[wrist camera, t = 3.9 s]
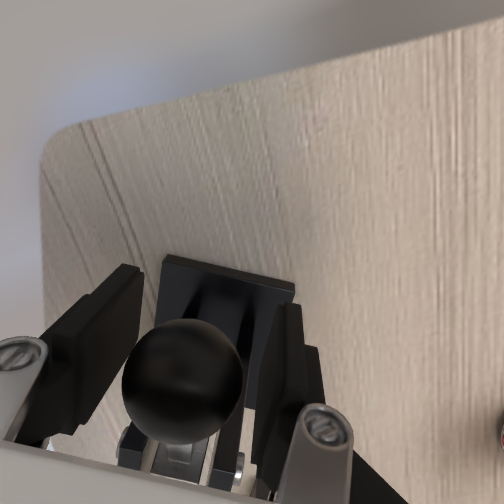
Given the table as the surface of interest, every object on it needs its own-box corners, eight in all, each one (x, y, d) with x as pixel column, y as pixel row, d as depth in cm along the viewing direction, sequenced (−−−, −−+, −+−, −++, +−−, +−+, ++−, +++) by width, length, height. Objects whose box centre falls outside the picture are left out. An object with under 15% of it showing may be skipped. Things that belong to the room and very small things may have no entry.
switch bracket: (167, 253, 24) (71, 376, 13) (295, 283, 24) (304, 429, 13) (151, 374, 28) (70, 541, 17) (259, 399, 28) (245, 581, 17)
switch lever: (144, 284, 9) (86, 407, 7) (260, 311, 9) (237, 441, 7) (161, 421, 19) (139, 491, 17) (218, 434, 19) (203, 505, 17)
